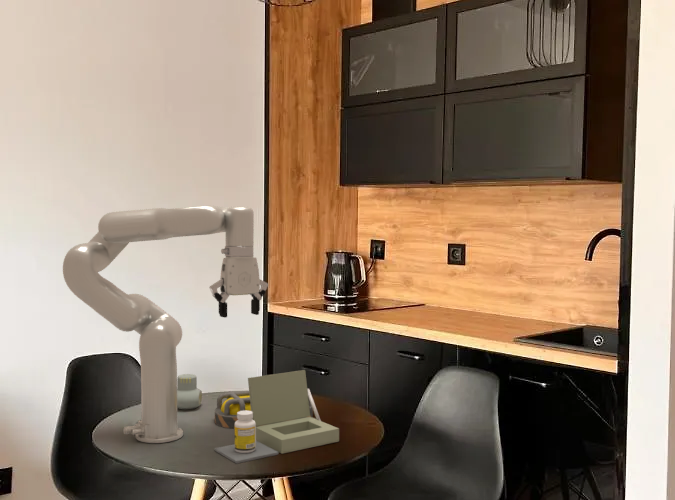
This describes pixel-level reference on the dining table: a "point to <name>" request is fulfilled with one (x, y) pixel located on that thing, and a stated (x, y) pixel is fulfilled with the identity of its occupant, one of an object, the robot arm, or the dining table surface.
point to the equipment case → (287, 413)
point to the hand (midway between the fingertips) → (239, 315)
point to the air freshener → (188, 392)
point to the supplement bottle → (245, 432)
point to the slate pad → (238, 457)
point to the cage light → (236, 408)
